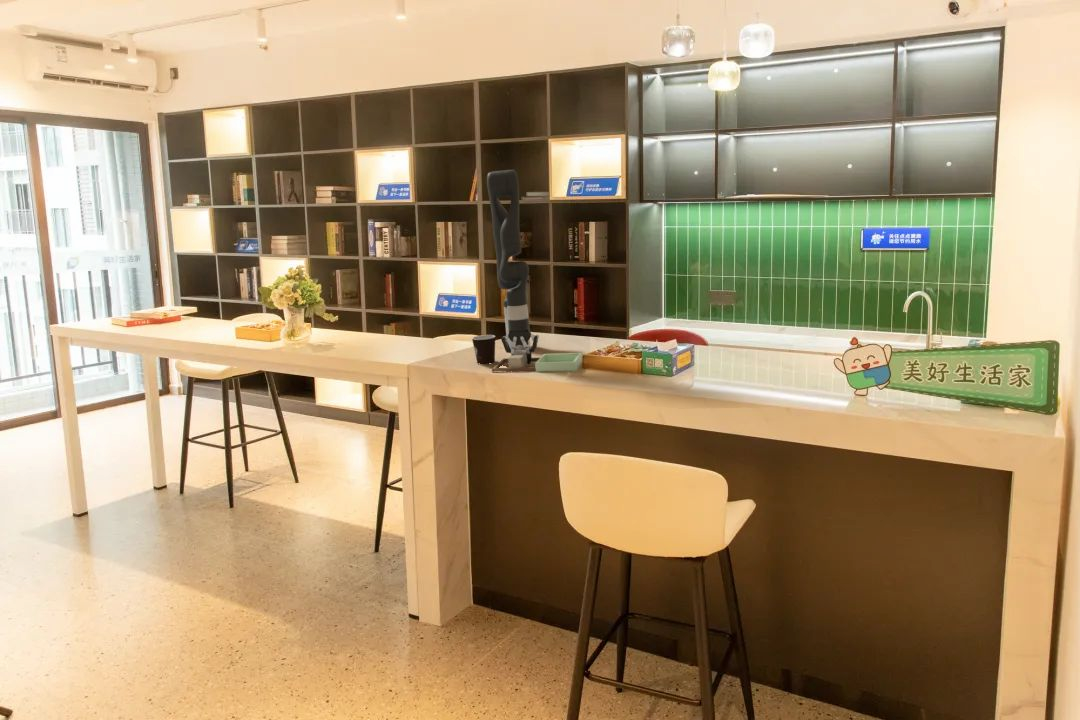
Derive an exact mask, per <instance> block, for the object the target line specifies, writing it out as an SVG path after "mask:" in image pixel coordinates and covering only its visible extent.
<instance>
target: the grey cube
mask: <svg viewBox="0 0 1080 720" xmlns="http://www.w3.org/2000/svg"><path fill="white" fill-rule="evenodd" d="M514 355H524V365H527V364H528V363H527V352H526V350H517V351H515V352H514Z"/></svg>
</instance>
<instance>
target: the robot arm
mask: <svg viewBox="0 0 1080 720" xmlns="http://www.w3.org/2000/svg"><path fill="white" fill-rule="evenodd" d="M518 177H519V176H518V173H517V171H516V170H514V169H506V170H494V171H490V172H488V173H487V177H486V186H487V192H488V199H489V204H490V205H489V206H490V210H491V220H492V232H493V233H492V234H493V240H494V241H493V242H494V248H495V254H496V255H495V256H496V257H495V258H496V275H497V277H496V278H497V285H498V287H499V288H500V290H501V289H502V290H506V293H505V294H506V298H505V299H503V312H504V313H503V315H504V323H505V335H503V336H502V337H501V338H500V340H501V342H502V345H503V347H504V350H505V352H506V354H510V356H511V355H514V352H515V351H517V350H526V352H527V363H528V364H530V362H531V361H532V358H533V357H532V354H533V353H534V352H535V351H536V350H537V347H538V341H539V338H540V337H539V334H532V333H531V330H530V329H531V328H530V319H529V318H530V317H529V316H530V315H529V309H528V301H527V300H528V298H527V284H528V278H529V276H530V275H529V273H530V267H529V263H527V262H526V261H523V260H518V261H509V259H510V258H512V257H514V256H518V255H520V254H521V253H522V243H521V242H522V240H521V231H520V185H519V184H520V183H519V178H518ZM508 197H509V198H510V206H509V209H508V211H507V209H506V208H505V207H504V206H503V204H502V203H501V201H500V199H499V198H508ZM531 342H532V346H531Z"/></svg>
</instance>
